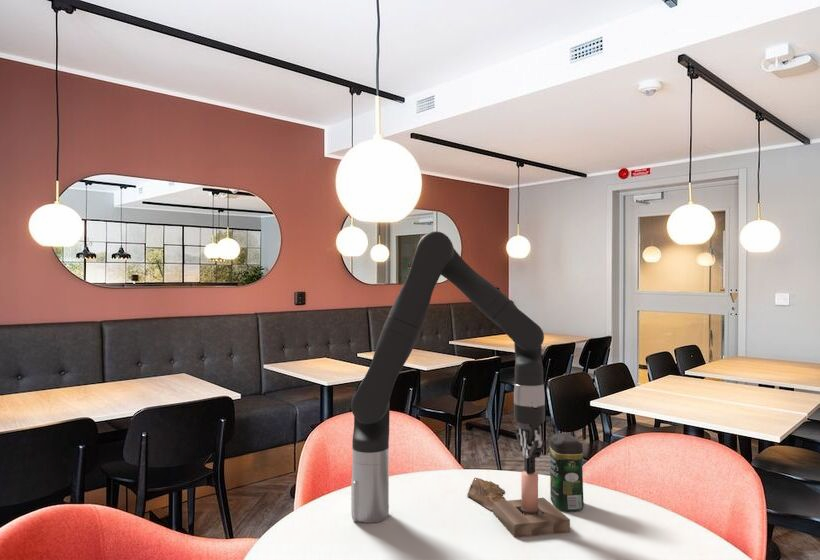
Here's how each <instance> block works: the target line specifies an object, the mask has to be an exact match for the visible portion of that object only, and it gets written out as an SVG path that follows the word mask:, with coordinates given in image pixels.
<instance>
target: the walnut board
mask: <svg viewBox="0 0 820 560" xmlns="http://www.w3.org/2000/svg"><path fill="white" fill-rule="evenodd" d="M521 506H522V498H521V499H512V500H511V499H509V500H506V501H496V502H493V511H492V514H493V515H494V517H496V519H497V518H498V519H497V520H499V522H500V523H501V524H502V525H503V526H504V528H505V527H506V528H505V529H506V530H507V531H508V532H509V533H510V534H511V536H513V538H524V537H533V536H534V537H535V536H544V535H554V534H563V533H564V534H565V533H570V532H571V519H570V518H569V516H566V515H565V513H563V512H562V511H561V510H559V509H557V508H556V507H555V506H554V505H553V503H551V502H550V501H548V500H547V498H545V497H538V508H539V512H538V513H537V514H536V515H525V516H524V515H523V512H522V511H521Z"/></svg>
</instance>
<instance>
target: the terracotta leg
mask: <svg viewBox="0 0 820 560" xmlns="http://www.w3.org/2000/svg"><path fill="white" fill-rule="evenodd" d="M520 476H521V477H520V479H521V481H520V482H521V485H520V486H521V499H522V506H521V511H522V512H523V515H524V516H525V515H536V514H537V513H538V512H539V508H538V498H539V474H538V472H536V471H535V473H530V474H528V473H527V472H525V470H524V471H521V474H520Z"/></svg>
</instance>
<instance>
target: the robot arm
mask: <svg viewBox="0 0 820 560" xmlns="http://www.w3.org/2000/svg"><path fill="white" fill-rule="evenodd" d="M409 268H410V269H409V272H408V274H407V277H406V280H405V281H404V283H403V285H402V287H401V288H400V291H399V292H398V294H397V296H396V298H395V300H394V301H393V302H394V303H393V304H392V306H391V309H390V311H389V313H388V315H387V317H386V320H385V321H384V324H383V327H382V330H381V332H380V335H379V337H378V340H377V344H376V347H375V350H374V354H373V357H372V359H371V363H370V366H369V368H368V370H367V372H366V374H365V376H364V377H363V379H362V381H361V383H360V385H359V387H358V388H357V390H356V391H355V393H354V394H353V396H352V399H351V403H350V407H351V409H350V410H351V413H352V415H353V420H354V421H353V433H352V439H351V440H352V441H351V442H352V447H351V449H352V455H351V456H352V459H351V460H352V466H351V467H352V470H351V471H352V475H351V477H350V478H351V480H350V481H351V485H350V486H351V492H350V493H351V496H350V497H351V498H350V499H351V500H350V501H351V503H350V504H351V505H350V506H351V507H350V509H351V511H350V512H351V517H352V520H353V522H354V523H356V522H358V523H359V522H360V523H367V524H368V523H369V524H371V523H379V522H383V521H384V520H386V519H388V518H389V513H390V504H389V503H390V502H389V500H390V499H389V497H390V496H389V494H390V493H389V492H390V488H389V487H390V485H389V484H390V482H389V479H390V478H389V477H390V476H389V475H390V474H389V472H390V471H389V470H390V469H389V467H390V465H389V463H390V461H389V457H390V456H389V452H390V447H389V446H390V445H389V444H390V409H391V408H390V406H391V404H390V399H391V395H392V392H393V389H394V386H395V384H396V381H397V379H398V376H399V374H400V372H401V371H402V370H403V367H404V366H405V364H406V362H407V361H408V359H409V358H410V355H411V353H412V351H413V349H414V347H415V346H416V343H417V341H418V338H419V336H420V334H421V331H422V329H423V327H424V324H425V322H426V318H427V315H428V312H429V308H430V303H431V300H432V295H433V292H434V289H435V288H436V287H435V286H436V285H437V283H438V282H439V281H438V280H439V279H440V277H441V276H442V277H443V278H445V279H446V280H447V281H449V282H450V283H452V284H453V285H454V286H455V287H456V288H458V290H460V291H461V293H462V294H463V295H464V296H465V297H466V298H467V299H468V300H469V302H471V303H472V304H473V305H474V306H475V307H476V308H477V309H478V310H479V311H480V312H481V313H482V314H483V315H485V316H486V317H487V318H488V319H489V320H490V321H491V322H492V323H493V324H494V325H497V327H499V328H501V330H502V331H503V332H504V333H505V335H506V336H507V337H509V339H511V341H513V342H514V343H513V345H514V357H515V358H514V359H515V360H514V361H515V363H514V388H513V419H514V421H515V422H517V423H519V428H516V429H515V430H514V434H515V436H516V440H517V443H518V447H519V448H518V449H519V451H520V452H522V456H523V457H524V458H523V459H524V460H523V461H524V466H523V467H524V469H523V470H524V471H525V472H527V473H528V474H530V473H535V472H536V458H537V459H538V458H540V457H541V455H542V452H543V450H544V448H545V445H546V442H545V441H546V440H544V439H541V429H540V425H541V424H543V423H544V422H545V421H546V398H545V397H546V394H545V393H546V392H545V385H544V366H543V362H542V360H543V359H542V355H543V354H542V349H543V348H542V347H543V346H542V344H543V343H544V341H545V340H544V339H545V335H544V331H543V329H542V328H541V326H539V324H537V323H536V322H535V321H534V320H532V318H530V317H529V316H528V315H526V314H525V313H524V312H523V311H522V310H520V309H519V308H518V307H517V305H516V304H515V303H514V302H513V301H512V300H511V299H510V298H509V297H508V296H506V295H505V294H504V293H503V292H502V291H501V290H500V289H499V288H497V287H496V286H495V285H493V283H491V282H490V281H489V280H487V279H486V278H485V277H483V276H482V275H480V274H479V273H478V272H476V271H475V270H474V268H472V267H471V266H470V265H469V264H468V263H467V262H466V261H465V260H464V259H463V258H462V257H461V255H460V254H459V252H458V251H457V250H456V249H455V247H454V244H453V242H452V240H451V239H450V238H449V236H447V234H445V233H444V232H441V231H430V232H428V233H426V234H423V236H422V237H421V238H420V239H419V241H418V243H417V245H416V249H415V252H414V256H413V259H412V262H411V265H410V267H409Z"/></svg>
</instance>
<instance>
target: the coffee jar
mask: <svg viewBox="0 0 820 560" xmlns="http://www.w3.org/2000/svg"><path fill="white" fill-rule="evenodd" d="M549 455H550V456H549V457H550V458H549V461H550V462H549V464H550V465H549V467H550V468H549V470H550V473H549V474H550V478H549V479H550V480H549V481H550V485H549V487H550V489H549V490H550V493H549V494H550V497H549V498H550V501H551V502H552V503H551V504H552V505H553V506H554V507H556V508H557V509H558V510H559V511H566V512H577V511H580V510H583V509H584V479H583V478H584V477H583V476H584V475H583V473H584V471H583V459H584V458H583V457H584V447H583V443H582V441H581V440H580V439H578V438H577V437H575V436H574V435H572V434H571V433H568V432H565V433H563V432H562V433H561V432H559V433H554V434H553V435H552V436H550V439H549Z"/></svg>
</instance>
